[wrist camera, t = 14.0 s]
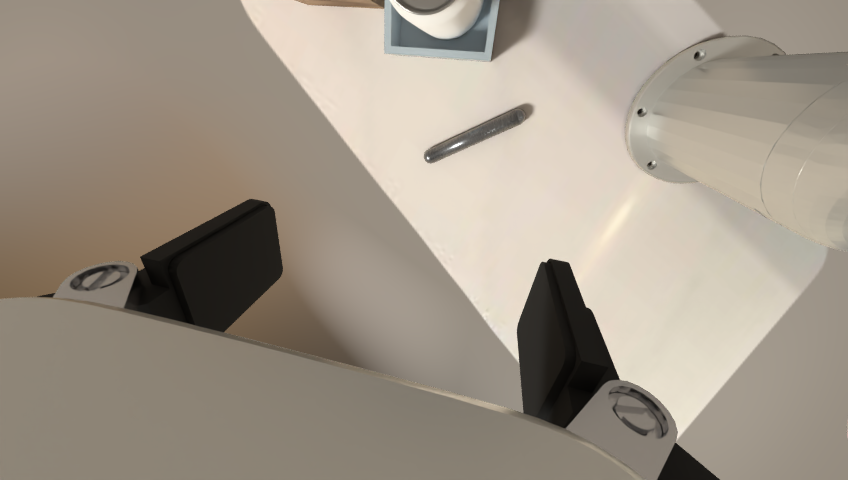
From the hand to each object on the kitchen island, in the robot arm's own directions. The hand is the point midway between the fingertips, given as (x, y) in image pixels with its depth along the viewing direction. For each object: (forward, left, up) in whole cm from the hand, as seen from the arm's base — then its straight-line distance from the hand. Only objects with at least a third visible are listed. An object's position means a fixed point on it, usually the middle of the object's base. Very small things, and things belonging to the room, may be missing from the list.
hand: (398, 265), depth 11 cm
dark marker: (-1, 0, -27) cm, 27 cm away
